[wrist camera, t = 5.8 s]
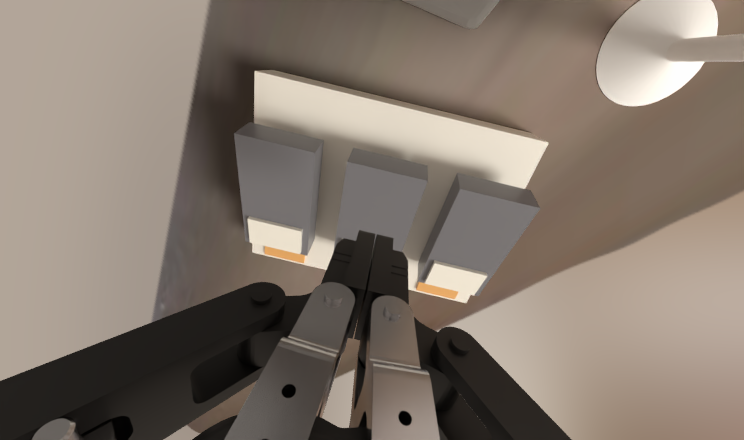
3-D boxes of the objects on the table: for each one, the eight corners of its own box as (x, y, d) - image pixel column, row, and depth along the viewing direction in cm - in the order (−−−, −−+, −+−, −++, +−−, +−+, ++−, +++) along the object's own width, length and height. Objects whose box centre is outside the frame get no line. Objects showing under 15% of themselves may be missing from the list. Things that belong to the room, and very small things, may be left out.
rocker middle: (353, 147, 19) (346, 163, 17) (427, 165, 19) (428, 183, 17) (337, 244, 25) (331, 263, 23) (395, 257, 25) (392, 278, 23)
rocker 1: (249, 122, 19) (231, 135, 17) (323, 140, 19) (313, 155, 17) (256, 225, 25) (243, 243, 23) (314, 239, 25) (306, 258, 23)
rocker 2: (457, 172, 19) (460, 191, 17) (530, 190, 19) (542, 211, 17) (417, 263, 25) (417, 284, 23) (474, 276, 25) (478, 299, 23)
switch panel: (272, 69, 22) (249, 71, 18) (531, 133, 22) (553, 145, 19) (266, 235, 29) (248, 256, 26) (460, 281, 29) (467, 308, 26)
